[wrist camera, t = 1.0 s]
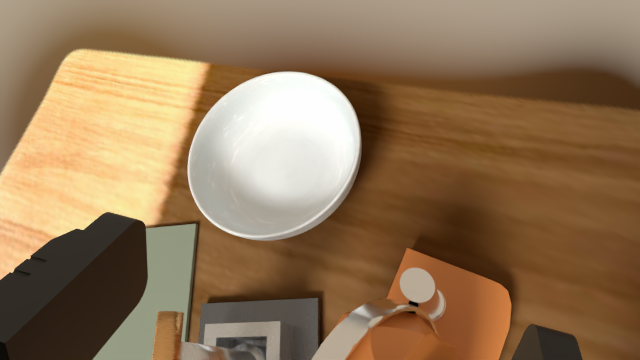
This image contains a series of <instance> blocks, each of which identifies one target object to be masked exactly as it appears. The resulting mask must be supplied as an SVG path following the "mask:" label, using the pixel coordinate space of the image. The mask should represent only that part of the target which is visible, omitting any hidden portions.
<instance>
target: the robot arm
mask: <svg viewBox="0 0 640 360" xmlns="http://www.w3.org/2000/svg"><path fill="white" fill-rule="evenodd" d="M147 281H148V266H147V243H146V227H145V224H144V223H143V222H142V221H140V220H137V219H133V218H129V217H125V216H122V215H118V214H114V213H110V212H107V213H104V214H103V215H101V216H100V217H99V218H97V219H96V220H95V221H94V222H93V223H91V224H90V225H89V226H88V227H87V228H85V229H84V230H80V229H75V230H73V231H70V232H68V233H66V234H64V235H61V236H59V237H57V238H54V239H52V240H50V241H49V242H48V243H46V244H45V245H44V246H43V247H41V248H40V249H39V250H38V251H36V252H35V253H34V254H33V255H31V258H30V259H26V260H25V261H24V262H23V263H21V264H20V265H19V266H18V267H16V268H15V269H14V272H13V273H9V274H7V275H6V276H5V277H4V278H2V279H1V280H0V360H93V358H94V357H95V356H96V355H97V353H98V352H99V351H100V350H101V349H102V347H103V346H104V345H105V344H106V343H107V341H108V340H109V339H110V338H111V336H112V335H113V334H114V333H115V332H116V330H117V329H118V328H119V327H120V326H121V324H122V323H123V322H124V321H125V319H126V318H127V317H128V316H129V315H130V313H131V312H132V311H133V310H134V309H135V307H136V306H137V305H138V303H139V302H140V300H141V298H142V297H143V294H144V292H145V289H146V286H147ZM512 360H582V356H581V353H580V350H579V346H578V343H577V340H576V338H575V337H574V336H573V335H572V334H568V333H564V332H560V331H557V330H553V329H549V328H546V327H542V326H538V325H534V324H531V325H529V326H528V327H527V329H526V330H525V332H524V334H523V337H522V339H521V341H520V343H519V345H518V347H517V349H516V351H515V353H514V355H513V358H512Z"/></svg>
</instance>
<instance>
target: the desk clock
mask: <svg viewBox="0 0 640 360" xmlns="http://www.w3.org/2000/svg"><path fill="white" fill-rule="evenodd" d="M510 317H511V301H510V297H509V293H508V291H507V290H506V289H505V288H504V287H503V286H502V285H501V284H499V283H497V282H495V281H492V280H490V279H487V278H485V277H482V276H480V275H477V274H474V273H472V272H469V271H467V270H464V269H461V268H459V267H456V266H453V265H451V264H448V263H446V262H443V261H440V260H438V259H435V258H433V257H430V256H427V255H425V254H422V253H419V252H417V251H414V250H412V249H409V248H407V250H406V252H405V255H404V257H403V260H402V262H401V264H400V267H399V269H398V272H397V274H396V277H395V279H394V282H393V284H392V286H391V289H390V291H389V294H388V296H387V299H377V300H374V301H371V302H368V303H366V304H364V305H362V306H361V307H359V308H358V309H356V310H354V311H353V312H347V313H345V314H343V315H342V317H341V318H340V320H339V321H338V323H337V324H336V326H335V327H334V329H333V330H332V332H331V333H330V334H329V336H328V337H327V338H326V339H325V340H324V342H323V343H322V344H321V346H320V347H319V349H318V350H317V352H316V353H315V355H314V356H313V358H312V359H311V360H499V357H500V354H501V351H502V348H503V345H504V342H505V339H506V336H507V334H508V331H509V328H510Z"/></svg>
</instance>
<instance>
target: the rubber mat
mask: <svg viewBox="0 0 640 360" xmlns="http://www.w3.org/2000/svg"><path fill="white" fill-rule="evenodd" d="M197 233H198V225H197V224H187V225H177V226H166V227H156V228H146V243H147V266H148V281H147V286H146V289H145V292H144V294H143V297H142V298H141V300H140V302H139V303H138V305H137V306H136V307H135V309H134V310H133V311H132V312H131V313H130V315H129V316H128V317H127V318H126V319H125V321H124V322H123V323H122V324H121V326H120V327H119V328H118V329H117V330H116V332H115V333H114V334H113V335H112V336H111V338H110V339H109V340H108V341H107V343H106V344H105V345H104V346H103V347H102V349H101V350H100V351H99V352H98V353H97V355H96V356H95V357H94V358H93V360H152V355H153V347H154V339H155V330H156V322H157V313H158V312H160V311H177V312H183V313H184V319H183V329H182V339H181V341H183V342H187V340H188V329H189V318H190V308H191V297H192V286H193V276H194V265H195V254H196V244H197Z"/></svg>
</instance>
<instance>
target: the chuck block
mask: <svg viewBox="0 0 640 360" xmlns="http://www.w3.org/2000/svg"><path fill="white" fill-rule="evenodd" d="M198 344H203V345H209V346H216V347H223V348H229V349H233V348H234V347H236V346H238V345H240V344H251V345H256V346H261V347H264V348H266V360H311V359H312V358H313V356H314V355H315V353H316V352H317V350H318V349H319V347H320V346H321V345H320V299H319V298H307V299H287V300H267V301H247V302H227V303H207V304H202V307H201V319H200V331H199V342H198Z"/></svg>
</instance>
